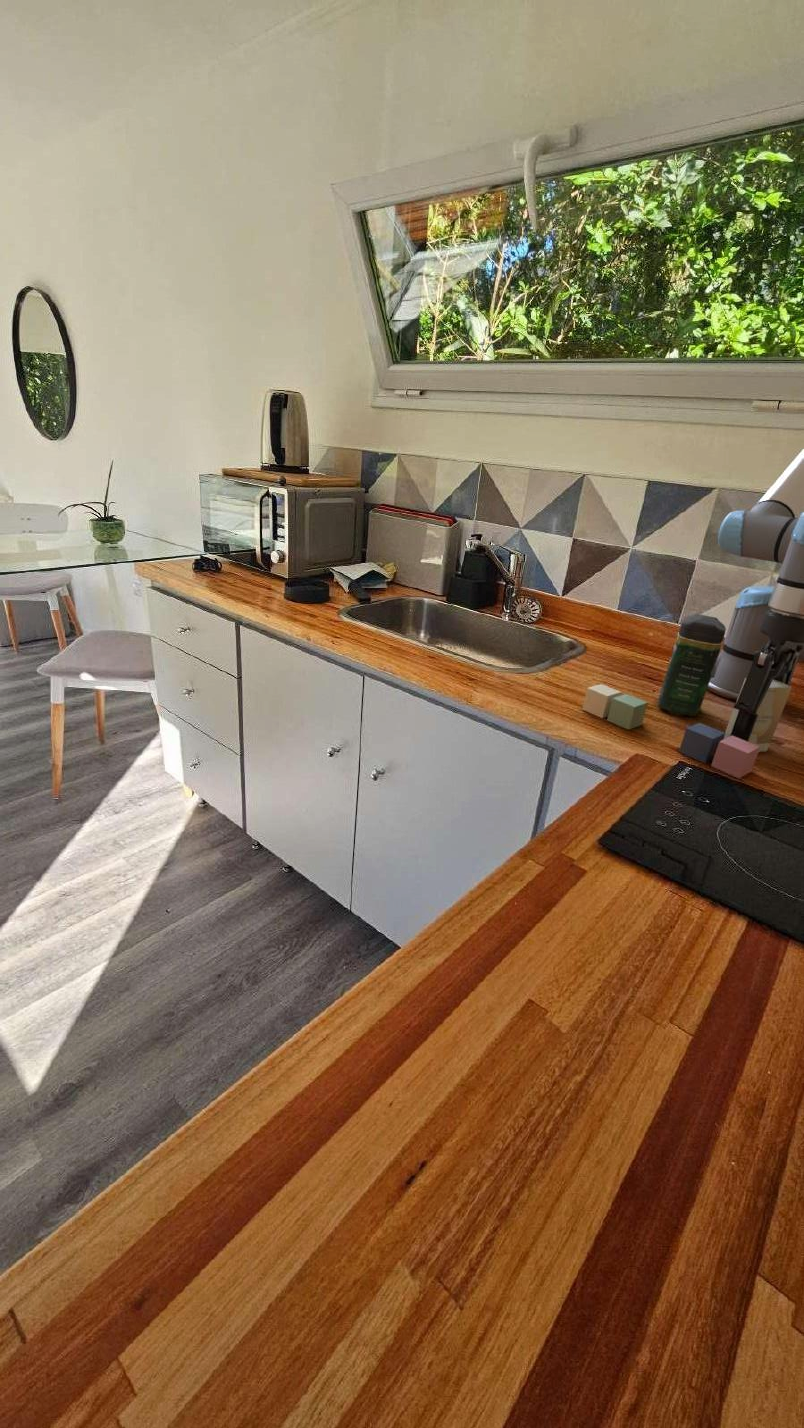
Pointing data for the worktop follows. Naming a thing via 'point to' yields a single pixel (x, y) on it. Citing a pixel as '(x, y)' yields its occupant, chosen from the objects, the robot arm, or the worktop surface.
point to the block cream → (599, 700)
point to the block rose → (735, 756)
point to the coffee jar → (691, 664)
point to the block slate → (701, 742)
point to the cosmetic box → (765, 715)
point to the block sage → (627, 711)
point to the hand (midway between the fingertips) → (746, 741)
